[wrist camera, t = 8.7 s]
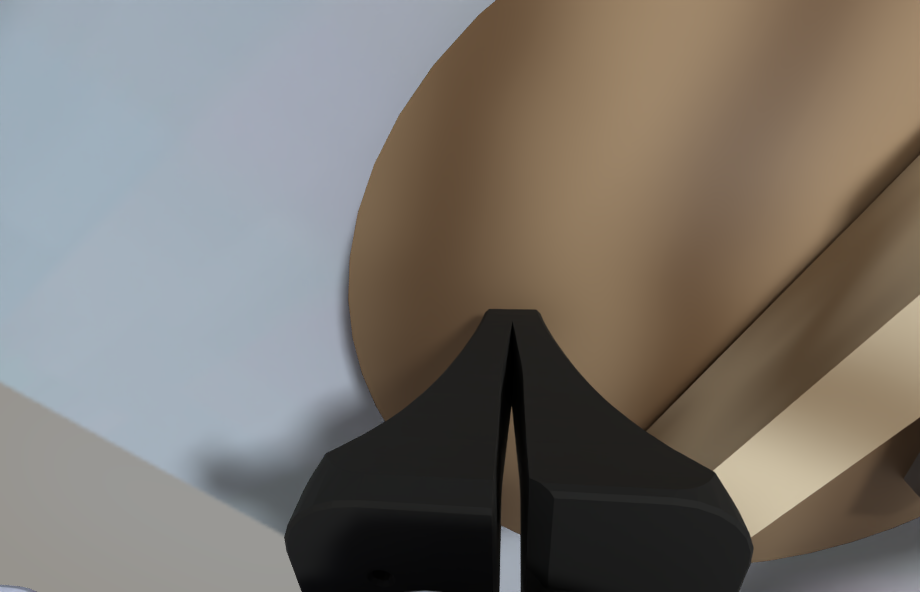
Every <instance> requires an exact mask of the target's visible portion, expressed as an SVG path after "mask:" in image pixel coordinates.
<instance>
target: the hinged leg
mask: <svg viewBox="0 0 920 592" xmlns="http://www.w3.org/2000/svg"><path fill="white" fill-rule="evenodd" d="M919 417H920V155H919V156H918V157H917V158H916V159H915V160H914V161H913V162H912V163H911V164H910V165H909V166H908V167H907V168H906V169H905V170H904V171H903V172H902V173H901V174H900V175H899V176H898V177H897V178H896V179H895V180H894V181H893V182H892V183H891V184H890V185H889V186H888V187H887V188H886V189H885V190H884V191H883V192H882V193H881V194H880V195H879V196H878V197H877V198H876V199H875V201H874V202H873V203H872V204H871V205H870V206H869V207H868V208H867V209H866V210H865V211H864V212H863V213H862V214H861V215H860V216H859V217H858V218H857V219H856V220H855V221H854V222H853V223H852V224H851V225H850V226H849V227H848V228H847V229H846V230H845V231H844V232H843V233H842V234H841V235H840V236H839V237H838V238H837V239H836V240H835V241H834V242H833V243H832V244H831V245H830V246H829V247H828V248H827V249H826V250H825V251H824V252H823V253H822V254H821V255H820V256H819V257H818V258H817V259H816V260H815V261H814V262H813V263H812V264H811V265H810V266H809V267H808V268H807V269H806V270H805V271H804V272H803V273H802V274H801V275H800V276H799V277H798V278H797V279H796V280H795V281H794V282H793V283H792V284H791V285H790V286H789V287H788V288H787V289H786V290H785V291H784V292H783V293H782V294H781V295H780V296H779V298H778V299H777V300H776V301H775V302H774V303H773V304H772V305H771V306H770V307H769V308H768V309H767V310H766V311H765V312H764V313H763V314H762V315H761V316H760V317H759V318H758V319H757V320H756V321H755V322H754V323H753V324H752V325H751V326H750V327H749V328H748V329H747V330H746V331H745V332H744V333H743V334H742V335H741V336H740V337H739V338H738V339H737V340H736V341H735V342H734V343H733V344H732V345H731V346H730V347H729V348H728V349H727V350H726V351H725V352H724V353H723V354H722V355H721V356H720V357H719V358H718V359H717V360H716V361H715V362H714V363H713V364H712V365H711V366H710V367H709V368H708V369H707V370H706V371H705V372H704V373H703V374H702V375H701V376H700V377H699V378H698V379H697V380H696V381H695V382H694V383H693V384H692V385H691V386H690V387H689V388H688V389H687V390H686V391H685V392H684V393H683V395H682V396H681V397H680V398H679V399H678V400H677V401H676V402H675V403H674V404H673V405H672V406H671V407H670V408H669V409H668V410H667V411H666V412H665V413H664V414H663V415H662V416H661V417H660V418H659V419H658V420H657V421H656V422H655V423H654V424H653V425H652V426H651V427H650V428H649V429H648V430H647V431H646V432H648V433H649V434H651V435H652V436H654V437H655V438H657V439H658V440H660V441H662V442H663V443H665V444H666V445H668V446H669V447H671V448H673V449H674V450H676V451H678V452H680V453H682V454H683V455H685V456H687V457H689V458H691V459H692V460H694V461H696V462H698V463H700V464H701V465H703V466H705V467H707V468H709V469H710V470H712V471H714V472H715V473H716V474H717V476H718V478H719V479H720V481H721V482H722V484H723V486H724V487H725V489H726V490H727V492H728V493H729V495H730V497H731V498H732V500H733V502H734V503H735V505H736V507H737V509H738V510H739V512H740V514H741V516H742V518H743V521H744V523H745V525H746V527H747V529H748V531H749V533H750V537H752V536H754V535H755V534H757V533H758V532H759V531H761V530H762V529H764V528H765V527H766V526H768V525H769V524H771V523H772V522H773V521H775V520H776V519H778V518H779V517H780V516H782V515H783V514H785V513H786V512H787V511H789V510H790V509H792V508H793V507H794V506H796V505H797V504H799V503H800V502H802V501H803V500H804V499H806V498H807V497H809V496H810V495H811V494H813V493H814V492H816V491H817V490H818V489H820V488H821V487H823V486H824V485H825V484H827V483H828V482H830V481H831V480H832V479H834V478H835V477H837V476H838V475H839V474H841V473H842V472H844V471H845V470H846V469H848V468H849V467H851V466H852V465H853V464H855V463H856V462H858V461H859V460H860V459H862V458H863V457H865V456H866V455H867V454H869V453H870V452H872V451H873V450H874V449H876V448H877V447H879V446H880V445H882V444H883V443H884V442H886V441H887V440H889V439H890V438H891V437H893V436H894V435H896V434H897V433H898V432H900V431H901V430H903V429H904V428H905V427H907V426H908V425H910V424H911V423H912V422H914V421H915V420H917V419H918V418H919Z"/></svg>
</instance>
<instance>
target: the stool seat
mask: <svg viewBox="0 0 920 592" xmlns="http://www.w3.org/2000/svg"><path fill="white" fill-rule="evenodd" d="M919 155H920V0H496V1H495V2H493V3H492V4H491V5H490V6H489V7H488V8H486V9H485V10H484V11H483V12H482V13H481V14H479V15H478V16H477V17H476V19H475V20H474V21H473V22H472V23H471V24H470V25H469V26H468V27H467V29H466V30H465V31H464V32H463V33H462V34H461V35H460V36H459V37H458V38H457V40H456V41H455V42H454V43H453V44H452V45H451V46H450V47H449V48H448V50H447V51H446V52H445V53H444V54H443V55H442V56H441V57H440V58H439V60H438V61H437V62H436V63H435V64H434V65H433V67H432V68H431V69H430V71H429V72H428V74H427V75H426V77H425V78H424V80H423V81H422V83H421V84H420V85H419V87H418V88H417V90H416V91H415V93H414V94H413V96H412V97H411V99H410V100H409V102H408V103H407V104H406V106H405V107H404V109H403V110H402V112H401V113H400V115H399V116H398V118H397V120H396V122H395V124H394V126H393V128H392V130H391V132H390V134H389V136H388V138H387V140H386V142H385V144H384V146H383V148H382V150H381V152H380V154H379V156H378V158H377V160H376V162H375V164H374V167H373V170H372V173H371V176H370V178H369V181H368V184H367V187H366V190H365V193H364V196H363V199H362V202H361V205H360V208H359V211H358V215H357V221H356V226H355V232H354V237H353V243H352V248H351V253H350V265H349V294H348V301H349V310H350V319H351V328H352V337H353V341H354V345H355V349H356V353H357V356H358V360H359V364H360V368H361V371H362V375H363V377H364V379H365V382H366V384H367V386H368V389H369V391H370V393H371V396H372V398H373V400H374V403H375V405H376V407H377V409H378V410H379V412H380V414H381V415H382V417H383V419H384V420H385V421H387V420H388V419H390V418H391V417H393V416H394V415H396V414H397V413H399V412H400V411H401V410H403V409H404V408H405V407H406V406H408V405H409V404H410V403H411V402H413V401H414V400H415V399H416V398H417V397H418V396H420V395H421V394H422V393H423V392H424V391H425V390H427V389H428V388H429V387H430V386H431V385H432V384H433V383H434V382H435V381H436V380H437V379H438V378H439V377H440V376H441V375H442V374H443V372H444V371H445V370H446V369H447V368H448V367H449V366H450V364H451V363H452V362H453V361H454V360H455V358H456V357H457V356H458V355H459V353H460V352H461V351H462V350H463V348H464V347H465V345H466V344H467V342H468V341H469V340H470V338H471V337H472V335H473V334H474V332H475V330H476V329H477V327H478V326H479V324H480V322H481V320H482V318H483V316H484V314H485V312H486V311H487V310H488V309H536V310H537V311H538V312H539V313H540V314H541V316H542V318H543V320H544V322H545V324H546V326H547V328H548V330H549V331H550V333H551V335H552V336H553V338H554V339H555V341H556V342H557V344H558V345H559V347H560V348H561V349H562V351H563V352H564V354H565V355H566V356H567V358H568V359H569V360H570V362H571V363H572V364H573V365H574V367H575V368H576V369H577V370H578V371H579V373H580V374H581V375H582V376H583V377H584V378H585V379H586V380H587V382H588V383H589V384H590V385H591V386H592V387H593V388H594V389H595V390H596V391H597V392H598V393H599V394H600V395H601V396H602V397H603V398H604V399H605V400H607V401H608V402H609V403H610V404H611V405H612V406H613V407H615V408H616V409H617V410H618V411H620V412H621V413H622V414H623V415H625V416H626V417H627V418H629V419H630V420H631V421H632V422H634V423H635V424H636V425H638V426H639V427H641V428H642V429H643V430H645V431H647V430H648V429H649V428H650V427H651V426H652V425H653V424H654V423H655V422H656V421H657V420H658V419H659V418H660V417H661V416H662V415H663V414H664V413H665V412H666V411H667V410H668V409H669V408H670V407H671V406H672V405H673V404H674V403H675V402H676V401H677V400H678V399H679V398H680V397H681V396H682V395H683V393H684V392H685V391H686V390H687V389H688V388H689V387H690V386H691V385H692V384H693V383H694V382H695V381H696V380H697V379H698V378H699V377H700V376H701V375H702V374H703V373H704V372H705V371H706V370H707V369H708V368H709V367H710V366H711V365H712V364H713V363H714V362H715V361H716V360H717V359H718V358H719V357H720V356H721V355H722V354H723V353H724V352H725V351H726V350H727V349H728V348H729V347H730V346H731V345H732V344H733V343H734V342H735V341H736V340H737V339H738V338H739V337H740V336H741V335H742V334H743V333H744V332H745V331H746V330H747V329H748V328H749V327H750V326H751V325H752V324H753V323H754V322H755V321H756V320H757V319H758V318H759V317H760V316H761V315H762V314H763V313H764V312H765V311H766V310H767V309H768V308H769V307H770V306H771V305H772V304H773V303H774V302H775V301H776V300H777V299H778V298H779V296H780V295H781V294H782V293H783V292H784V291H785V290H786V289H787V288H788V287H789V286H790V285H791V284H792V283H793V282H794V281H795V280H796V279H797V278H798V277H799V276H800V275H801V274H802V273H803V272H804V271H805V270H806V269H807V268H808V267H809V266H810V265H811V264H812V263H813V262H814V261H815V260H816V259H817V258H818V257H819V256H820V255H821V254H822V253H823V252H824V251H825V250H826V249H827V248H828V247H829V246H830V245H831V244H832V243H833V242H834V241H835V240H836V239H837V238H838V237H839V236H840V235H841V234H842V233H843V232H844V231H845V230H846V229H847V228H848V227H849V226H850V225H851V224H852V223H853V222H854V221H855V220H856V219H857V218H858V217H859V216H860V215H861V214H862V213H863V212H864V211H865V210H866V209H867V208H868V207H869V206H870V205H871V204H872V203H873V202H874V201H875V199H876V198H877V197H878V196H879V195H880V194H881V193H882V192H883V191H884V190H885V189H886V188H887V187H888V186H889V185H890V184H891V183H892V182H893V181H894V180H895V179H896V178H897V177H898V176H899V175H900V174H901V173H902V172H903V171H904V170H905V169H906V168H907V167H908V166H909V165H910V164H911V163H912V162H913V161H914V160H915V159H916V158H917V157H918V156H919ZM918 517H920V417H919V418H918V419H917V420H915V421H914V422H912V423H911V424H910V425H908V426H907V427H905V428H904V429H903V430H901V431H900V432H898V433H897V434H896V435H894V436H893V437H891V438H890V439H889V440H887V441H886V442H884V443H883V444H882V445H880V446H879V447H877V448H876V449H874V450H873V451H872V452H870V453H869V454H867V455H866V456H865V457H863V458H862V459H860V460H859V461H858V462H856V463H855V464H853V465H852V466H851V467H849V468H848V469H846V470H845V471H844V472H842V473H841V474H839V475H838V476H837V477H835V478H834V479H832V480H831V481H830V482H828V483H827V484H825V485H824V486H823V487H821V488H820V489H818V490H817V491H816V492H814V493H813V494H811V495H810V496H809V497H807V498H806V499H804V500H803V501H802V502H800V503H799V504H797V505H796V506H794V507H793V508H792V509H790V510H789V511H787V512H786V513H785V514H783V515H782V516H780V517H779V518H778V519H776V520H775V521H773V522H772V523H771V524H769V525H768V526H766V527H765V528H764V529H762V530H761V531H759V532H758V533H757V534H755V535H754V536H752V537H751V540H752V544H753V547H754V550H753V555H752V560H751V563H753V562H762V561H770V560H776V559H781V558H786V557H792V556H797V555H802V554H808V553H812V552H816V551H820V550H824V549H827V548H831V547H835V546H839V545H843V544H846V543H850V542H853V541H856V540H859V539H862V538H865V537H868V536H871V535H874V534H877V533H880V532H883V531H886V530H889V529H892V528H894V527H897V526H899V525H902V524H904V523H906V522H909V521H911V520H913V519H916V518H918ZM501 526H503V527H506V528H508V529H510V530H512V531H514V532H516V533H518V534H520V484H519V472H518V462H517V453H516V443H515V433H514V424H513V414H512V407H511V415H510V424H509V432H508V440H507V448H506V457H505V465H504V473H503V483H502V499H501Z"/></svg>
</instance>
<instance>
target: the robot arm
mask: <svg viewBox="0 0 920 592" xmlns="http://www.w3.org/2000/svg"><path fill="white" fill-rule="evenodd" d="M511 407H512V414H513V424H514V433H515V443H516V453H517V462H518V472H519V484H520V536H521V592H739V590H740V587H741V585H742V583H743V580H744V578H745V576H746V573H747V571H748V569H749V566H750V564H751V560H752V555H753V550H754V547H753V544H752V540H751V537H750V533H749V531H748V529H747V527H746V525H745V523H744V521H743V518H742V516H741V514H740V512H739V510H738V509H737V507H736V505H735V503H734V502H733V500H732V498H731V497H730V495H729V493H728V492H727V490H726V489H725V487H724V486H723V484H722V482H721V481H720V479H719V478H718V476H717V474H716V473H715V472H714V471H712V470H710V469H709V468H707V467H705V466H703V465H701V464H700V463H698V462H696V461H694V460H692V459H691V458H689V457H687V456H685V455H683V454H682V453H680V452H678V451H676V450H674V449H673V448H671V447H669V446H668V445H666V444H665V443H663V442H662V441H660V440H658V439H657V438H655V437H654V436H652V435H651V434H649V433H648V432H646V431H645V430H643V429H642V428H641V427H639V426H638V425H636V424H635V423H634V422H632V421H631V420H630V419H629V418H627V417H626V416H625V415H623V414H622V413H621V412H620V411H618V410H617V409H616V408H615V407H613V406H612V405H611V404H610V403H609V402H608V401H607V400H605V399H604V398H603V397H602V396H601V395H600V394H599V393H598V392H597V391H596V390H595V389H594V388H593V387H592V386H591V385H590V384H589V383H588V382H587V380H586V379H585V378H584V377H583V376H582V375H581V374H580V373H579V371H578V370H577V369H576V368H575V367H574V365H573V364H572V363H571V362H570V360H569V359H568V358H567V356H566V355H565V354H564V352H563V351H562V349H561V348H560V347H559V345H558V344H557V342H556V341H555V339H554V338H553V336H552V335H551V333H550V331H549V330H548V328H547V326H546V324H545V322H544V320H543V318H542V316H541V314H540V313H539V312H538V311H537V310H536V309H488V310H487V311H486V312H485V314H484V316H483V318H482V320H481V322H480V324H479V326H478V327H477V329H476V330H475V332H474V334H473V335H472V337H471V338H470V340H469V341H468V342H467V344H466V345H465V347H464V348H463V350H462V351H461V352H460V353H459V355H458V356H457V357H456V358H455V360H454V361H453V362H452V363H451V364H450V366H449V367H448V368H447V369H446V370H445V371H444V372H443V374H442V375H441V376H440V377H439V378H438V379H437V380H436V381H435V382H434V383H433V384H432V385H431V386H430V387H429V388H428V389H427V390H425V391H424V392H423V393H422V394H421V395H420V396H418V397H417V398H416V399H415V400H414V401H413V402H411V403H410V404H409V405H408V406H406V407H405V408H404V409H403V410H401V411H400V412H399V413H397V414H396V415H394V416H393V417H391V418H390V419H388V420H387V421H385V422H384V423H382V424H380V425H379V426H377V427H375V428H374V429H372V430H370V431H369V432H367V433H365V434H364V435H362V436H360V437H358V438H356V439H354V440H352V441H350V442H348V443H346V444H344V445H342V446H340V447H338V448H336V449H334V450H332V451H330V452H328V453H326V454H325V455H324V457H323V459H322V460H321V462H320V464H319V465H318V467H317V469H316V470H315V472H314V473H313V475H312V476H311V478H310V480H309V482H308V483H307V485H306V487H305V489H304V491H303V493H302V495H301V498H300V500H299V502H298V504H297V506H296V508H295V510H294V513H293V515H292V517H291V519H290V521H289V523H288V526H287V530H286V533H285V537H284V538H285V544H286V550H287V553H288V556H289V559H290V561H291V564H292V567H293V569H294V572H295V575H296V578H297V580H298V583H299V586H300V588H301V591H302V592H499V586H500V541H501V499H502V483H503V473H504V465H505V457H506V448H507V440H508V432H509V424H510V415H511ZM0 592H36V591H34V590H32V589H29V588H25V587H20V586H9V585H0Z"/></svg>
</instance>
